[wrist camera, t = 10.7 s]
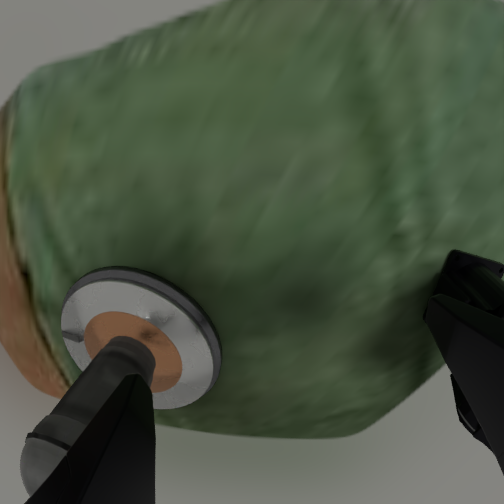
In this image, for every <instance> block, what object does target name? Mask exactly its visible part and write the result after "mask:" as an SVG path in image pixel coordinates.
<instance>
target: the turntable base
mask: <svg viewBox="0 0 504 504" xmlns="http://www.w3.org/2000/svg"><path fill="white" fill-rule="evenodd" d="M110 277H113V278H125V279H130V280H134V281H138V282H141V283H144V284H147V285H149V286H151V287H154V288H156V289H158V290H160V291H161V292H163V293H165V294H167V295H168V296H170V297H171V298H173V299H174V300H176V301H177V302H178V303H180V304H181V305H182V306H183V307H184V308H186V309H187V310H188V311H189V312H190V313H191V314H192V315H193V316H194V317H195V319H196V320H197V321H198V323H199V324H200V325H201V326H202V328H203V330H204V331H205V333H206V334H207V336H208V339H209V341H210V343H211V346H212V349H213V353H214V371H213V376H212V379H211V383H210V385H209V387H208V389H207V390H206V392H205V393H207V392H208V391H209V390H210V389H211V388H212V386H213V385H214V384H215V382H216V380H217V378H218V375H219V371H220V367H221V361H222V348H221V343H220V339H219V336H218V333H217V331H216V329H215V327H214V325H213V323H212V321H211V320H210V318H209V317H208V315H207V314H206V313H205V311H204V310H203V309H202V308H201V307H200V305H199V304H198V303H197V302H196V301H195V300H194V299H193V298H192V297H190V296H189V295H188V294H187V293H186V292H184V291H183V290H182V289H180V288H179V287H177V286H176V285H174V284H173V283H171V282H169V281H167V280H166V279H164V278H162V277H160V276H157V275H155V274H153V273H150V272H147V271H144V270H140V269H137V268H131V267H123V266H111V267H103V268H99V269H96V270H93V271H91V272H89V273H87V274H85V275H84V276H83V277H81V278H80V279H79V280H78V281H77V282H76V283H75V284H74V285H73V286H72V287H71V288H70V290H69V291H68V293H67V294H66V297H65V299H64V302H63V306H62V312H63V309H64V306H65V304H66V302H67V301H68V299H69V298H70V297H71V296H72V295H73V294H74V293H75V292H76V291H77V289H78V288H80V287H81V286H83V285H84V284H86V283H88V282H90V281H93V280H96V279H100V278H110ZM205 393H204V394H205ZM204 394H203V395H204ZM203 395H202V396H203Z"/></svg>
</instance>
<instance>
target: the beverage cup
mask: <svg viewBox="0 0 504 504" xmlns="http://www.w3.org/2000/svg"><path fill="white" fill-rule="evenodd" d="M155 367H156V361H155V358H154V356H153V354H152V352H151V351H150V350H149V349H148V348H147V347H146V346H145V345H144V344H143V343H141V342H140V341H138V340H136V339H134V338H131V337H127V336H116V337H114V338H112V339H110V341H109V342H108V344H106V345H105V347H104V348H103V349H101V350H100V351H99V352H98V354H97V355H96V356H95V357H94V359H93V360H92V361H91V362H90V364H89V365H88V366H87V367H86V369H85V370H84V371H83V372H82V373H81V375H80V376H79V377H78V379H77V380H76V381H75V382H74V384H73V385H72V386H71V387H70V389H69V390H68V391H67V392H66V394H65V395H64V396H63V398H62V399H61V400H60V402H59V403H58V404H57V405H56V407H55V408H54V409H53V411H52V412H51V413H50V415H48V416H46V417H45V418H44V419H43V420H42V421H41V422H40V423H39V424H38V425H37V426H36V427H35V429H34V430H33V432H32V433H28V435H27V437H26V441H25V443H26V444H25V446H24V448H23V451H22V455H21V460H20V470H21V477H22V480H23V484H24V486H25V488H26V491H27V493H28V494H29V496H30V497H31V496H32V494H33V493H34V492H35V491H36V490H37V489H38V488H39V487H40V486H41V485H42V483H43V482H44V481H45V480H46V479H47V478H48V476H49V475H50V474H51V473H52V471H53V470H54V469H55V468H56V466H57V465H58V464H59V462H60V461H61V460H62V458H63V457H64V456H65V455H66V453H67V452H68V450H69V449H70V448H71V446H72V445H73V444H74V442H75V441H76V440H77V438H78V437H79V436H80V434H81V433H82V432H83V430H84V429H85V428H86V426H87V425H88V424H89V422H90V421H91V420H92V418H93V417H94V416H95V415H96V413H97V412H98V411H99V409H100V408H101V407H102V405H103V404H104V403H105V401H106V400H107V399H108V398H109V396H110V395H111V394H112V392H113V391H114V390H115V388H116V387H117V386H118V385H119V383H120V382H121V381H122V379H123V378H124V377H125V376H126V375H127V374H132V373H139V374H141V376H142V377H143V379H144V380H145V382H146V383H147V385H148V386H149V387H151V383H152V380H153V373H154V370H155Z"/></svg>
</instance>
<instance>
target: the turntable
mask: <svg viewBox="0 0 504 504" xmlns="http://www.w3.org/2000/svg"><path fill="white" fill-rule="evenodd" d="M61 328H62V335H63V338H64V342H65V344H66V347H67V349H68V351H69V353H70V355H71V357H72V358H73V360H74V361H75V363H76V364H77V365H78V367H79V368H80V369H81V370H82V372H83V371H84V370H85V369H86V367H87V366H88V365H89V364H90V362H91V361H92V360H93V359H94V357H95V356H96V355H97V354H98V352H99V351H100V350H101V349H103V348H104V347H105V345H106V344H108V342H109V341H110V339H112V338H114V337H116V336H127V337H131V338H134V339H136V340H138V341H140V342H141V343H143V344H144V345H145V346H146V347H147V348H148V349H149V350H150V351H151V352H152V354H153V356H154V358H155V361H156V367H155V370H154V373H153V380H152V383H151V387H150V389H151V391H152V395H153V409H173V408H179V407H182V406H186V405H188V404H190V403H192V402H194V401H196V400H197V399H199V398H200V397H201V396H202V395H203V394H204V393H205V392H206V390H207V389H208V387H209V385H210V383H211V379H212V376H213V371H214V353H213V349H212V346H211V343H210V341H209V339H208V336H207V334H206V333H205V331H204V330H203V328H202V326H201V325H200V324H199V323H198V321H197V320H196V319H195V317H194V316H193V315H192V314H191V313H190V312H189V311H188V310H187V309H186V308H184V307H183V306H182V305H181V304H180V303H178V302H177V301H176V300H174V299H173V298H171V297H170V296H168V295H167V294H165V293H163V292H161V291H160V290H158V289H156V288H154V287H151V286H149V285H147V284H144V283H141V282H138V281H134V280H130V279H125V278H113V277H110V278H100V279H96V280H93V281H90V282H88V283H86V284H84V285H83V286H81V287H80V288H78V289H77V291H76V292H75V293H74V294H73V295H72V296H71V297H70V298H69V299H68V301H67V302H66V304H65V306H64V309H63V312H62V317H61Z"/></svg>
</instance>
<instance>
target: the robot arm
mask: <svg viewBox="0 0 504 504" xmlns="http://www.w3.org/2000/svg"><path fill="white" fill-rule="evenodd" d="M457 255H458V257H457V258H456V259H455V257H456V256H457ZM500 268H501V269H500ZM503 273H504V265H503V264H502V263H499V262H496V261H493V260H490V259H486V258H483V257H480V256H477V255H473V254H470V253H467V252H463V251H460V250H454V251H453V252H452V253H451V255H450V257H449V260H448V262H447V265H446V267H445V270H444V272H443V274H442V276H441V279H440V281H439V283H438V285H437V288H436V290H435V292H434V294H433V296H432V297H430V299H429V301H428V307H427V309H426V311H425V313H424V315H423V320H424V321H425V323H427V325H428V327H429V329H430V331H431V333H432V335H433V337H434V339H435V341H436V343H437V345H438V348H439V350H440V352H441V354H442V356H443V358H444V360H445V362H446V364H447V366H448V368H449V369H450V371H451V373H452V374H451V375H450V377H451V381H452V386H453V391H454V397H455V403H456V409H457V413H458V416H459V421H460V422H461V423H462V424H463V425H464V427H465V428H466V429H467V430H468V431H469V432H470V433H471V434H472V435H473V437H474V438H476V439H477V440H479V441H481V442H482V443H483V444H485V445H486V446H487V447H488V448H489V449H490V450H491V451H492V452H493V453H494V455H495V456H496V458H497V461H498V463H499V465H500V467H501V470H502V472H503V475H504V281H503V280H502V279H501V278H502V276H503ZM155 442H156V437H155V423H154V410H153V395H152V391H151V389H150V387H149V386H148V385H147V383H146V382H145V380H144V379H143V377H142V376H141V374H139V373H132V374H127V375H126V376H125V377H124V378H123V379H122V381H121V382H120V383H119V385H118V386H117V387H116V388H115V390H114V391H113V392H112V394H111V395H110V396H109V398H108V399H107V400H106V401H105V403H104V404H103V405H102V407H101V408H100V409H99V411H98V412H97V413H96V415H95V416H94V417H93V418H92V420H91V421H90V422H89V424H88V425H87V426H86V428H85V429H84V430H83V432H82V433H81V434H80V436H79V437H78V438H77V440H76V441H75V442H74V444H73V445H72V446H71V448H70V449H69V450H68V452H67V453H66V455H65V456H64V457H63V458H62V460H61V461H60V462H59V464H58V465H57V466H56V468H55V469H54V470H53V471H52V473H51V474H50V475H49V476H48V478H47V479H46V480H45V481H44V482H43V483H42V485H41V486H40V487H39V488H38V489H37V490H36V491H35V492H34V493H33V494H32V496H31V497H30V498H29V499H28V500H27V501H26V502H25V503H24V504H155V445H156V443H155Z"/></svg>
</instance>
